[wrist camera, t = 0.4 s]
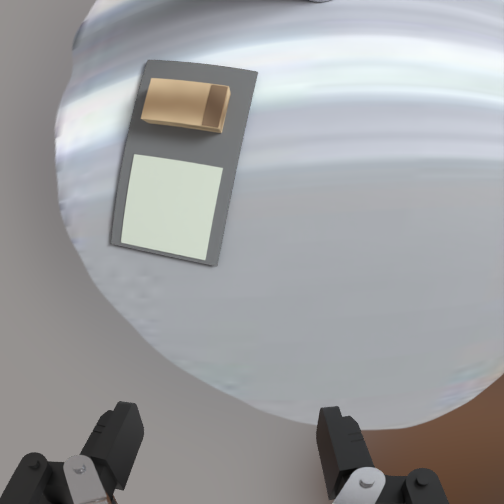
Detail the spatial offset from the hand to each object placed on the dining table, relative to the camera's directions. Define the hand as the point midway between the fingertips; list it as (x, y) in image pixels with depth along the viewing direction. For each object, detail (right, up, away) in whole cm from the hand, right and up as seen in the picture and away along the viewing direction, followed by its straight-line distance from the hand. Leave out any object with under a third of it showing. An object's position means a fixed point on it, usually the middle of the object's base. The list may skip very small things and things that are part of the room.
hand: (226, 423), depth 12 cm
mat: (-8, +19, +23) cm, 30 cm away
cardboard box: (-6, +24, +21) cm, 33 cm away
